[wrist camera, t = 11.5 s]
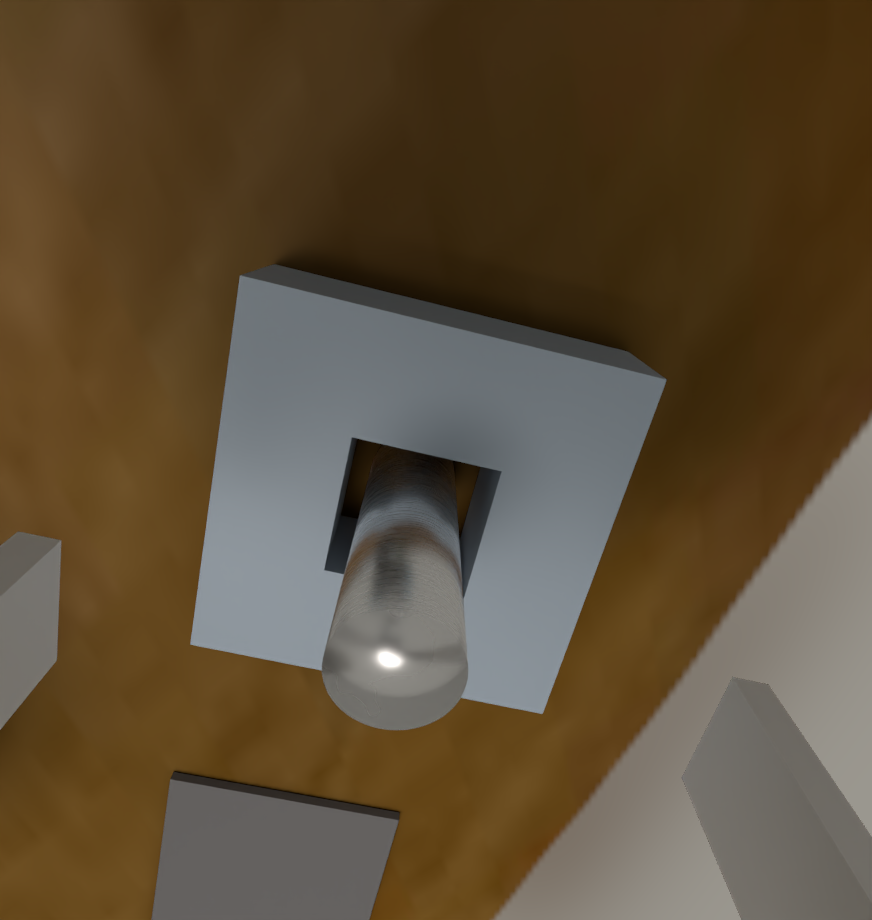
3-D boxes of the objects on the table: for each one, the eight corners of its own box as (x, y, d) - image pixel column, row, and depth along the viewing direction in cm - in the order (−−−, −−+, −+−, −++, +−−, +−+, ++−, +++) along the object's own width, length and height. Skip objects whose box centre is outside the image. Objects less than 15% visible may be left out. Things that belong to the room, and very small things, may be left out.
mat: (145, 980, 34) (142, 988, 33) (173, 771, 29) (170, 779, 28) (340, 1009, 34) (339, 1018, 34) (399, 812, 30) (398, 820, 29)
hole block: (226, 580, 25) (190, 644, 22) (274, 264, 21) (240, 275, 18) (527, 642, 26) (542, 713, 23) (628, 351, 22) (666, 379, 19)
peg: (363, 501, 24) (310, 715, 14) (380, 425, 23) (336, 596, 13) (443, 518, 25) (449, 741, 14) (463, 443, 24) (484, 625, 13)
